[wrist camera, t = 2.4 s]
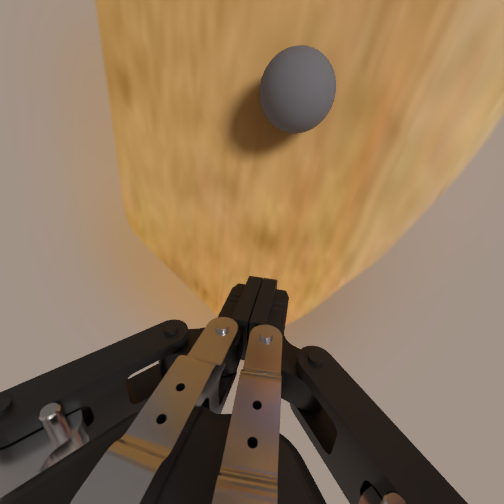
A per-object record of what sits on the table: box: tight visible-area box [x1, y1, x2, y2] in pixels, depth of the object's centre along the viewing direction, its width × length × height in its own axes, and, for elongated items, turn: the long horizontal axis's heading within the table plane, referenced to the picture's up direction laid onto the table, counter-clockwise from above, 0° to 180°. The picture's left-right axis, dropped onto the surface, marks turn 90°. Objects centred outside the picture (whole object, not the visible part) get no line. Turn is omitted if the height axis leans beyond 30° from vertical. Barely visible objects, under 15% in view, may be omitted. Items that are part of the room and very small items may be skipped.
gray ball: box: [260, 45, 336, 133], centre depth 20 cm, size 6×6×6 cm
